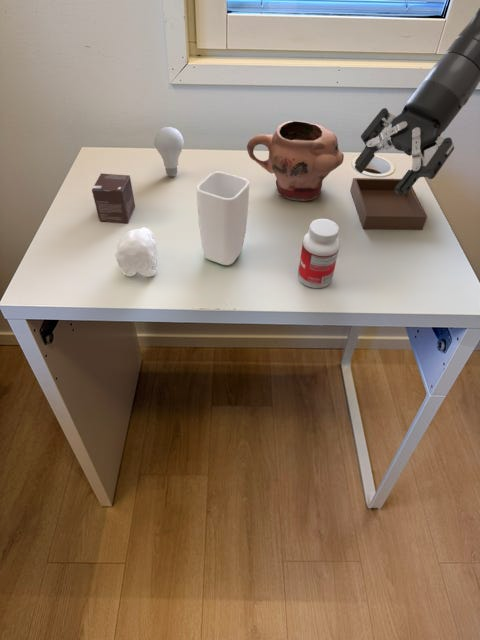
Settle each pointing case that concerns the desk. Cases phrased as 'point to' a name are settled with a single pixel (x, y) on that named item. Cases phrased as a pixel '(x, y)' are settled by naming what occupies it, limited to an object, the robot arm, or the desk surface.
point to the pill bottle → (319, 254)
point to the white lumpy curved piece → (137, 252)
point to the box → (114, 197)
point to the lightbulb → (169, 148)
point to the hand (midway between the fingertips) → (376, 181)
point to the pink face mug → (299, 158)
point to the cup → (222, 215)
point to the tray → (386, 205)
